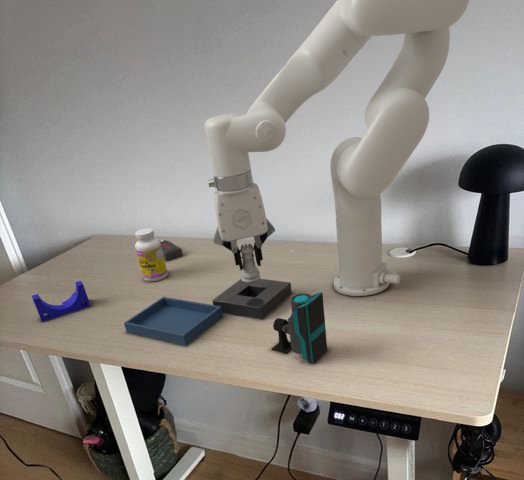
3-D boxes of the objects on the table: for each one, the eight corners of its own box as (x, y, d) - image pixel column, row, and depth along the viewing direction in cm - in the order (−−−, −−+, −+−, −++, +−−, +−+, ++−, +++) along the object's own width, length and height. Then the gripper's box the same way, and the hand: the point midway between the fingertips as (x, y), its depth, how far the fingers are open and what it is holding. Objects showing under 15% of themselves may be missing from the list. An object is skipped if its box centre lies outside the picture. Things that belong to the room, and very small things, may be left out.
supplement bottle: (139, 282, 139) (125, 236, 133) (152, 271, 144) (140, 226, 138) (160, 282, 137) (147, 236, 130) (172, 272, 142) (161, 226, 135)
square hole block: (292, 293, 120) (290, 282, 119) (262, 319, 111) (260, 308, 110) (245, 286, 127) (244, 276, 125) (214, 311, 118) (212, 300, 117)
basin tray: (223, 316, 115) (221, 306, 114) (186, 346, 106) (183, 335, 105) (165, 305, 124) (163, 296, 123) (126, 332, 115) (123, 322, 114)
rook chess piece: (260, 282, 114) (256, 248, 110) (240, 284, 115) (235, 250, 110) (261, 274, 118) (257, 240, 114) (241, 276, 118) (236, 242, 114)
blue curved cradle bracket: (87, 300, 134) (79, 278, 131) (90, 306, 130) (83, 284, 127) (39, 315, 130) (30, 293, 127) (42, 321, 126) (32, 299, 123)
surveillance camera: (277, 283, 97) (323, 291, 91) (285, 338, 103) (328, 349, 98) (259, 296, 93) (306, 305, 88) (268, 352, 100) (312, 364, 94)
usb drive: (166, 261, 150) (164, 252, 148) (152, 251, 159) (150, 242, 158) (183, 255, 152) (181, 246, 150) (168, 246, 161) (166, 237, 160)
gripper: (194, 194, 102) (214, 279, 111) (277, 177, 102) (289, 264, 112) (193, 185, 108) (212, 267, 117) (271, 169, 108) (283, 252, 118)
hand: (249, 264), depth 114 cm, fingers closed on rook chess piece, 3 cm apart
